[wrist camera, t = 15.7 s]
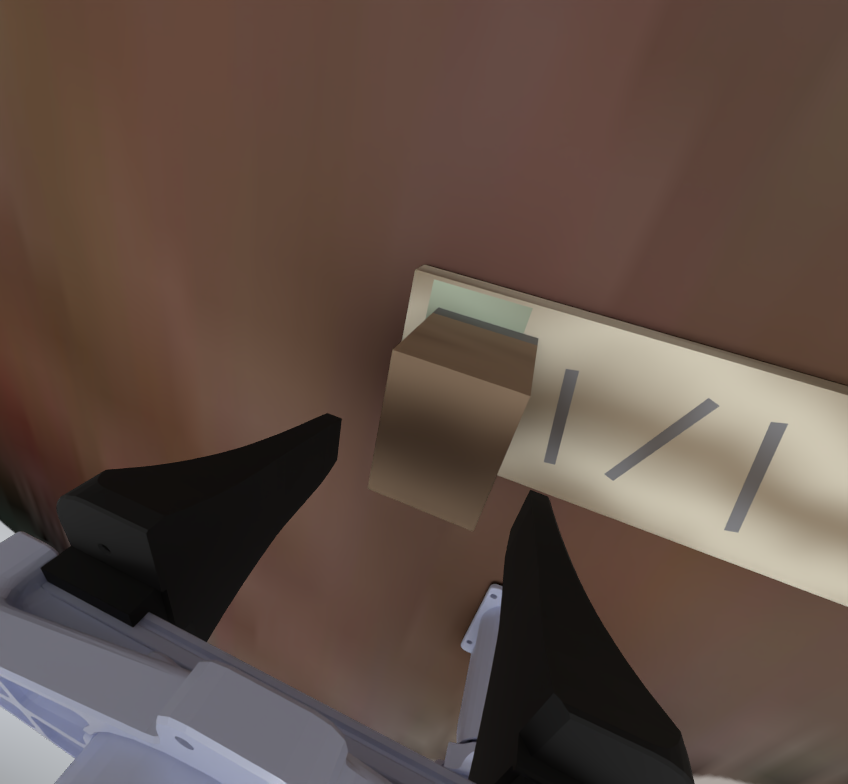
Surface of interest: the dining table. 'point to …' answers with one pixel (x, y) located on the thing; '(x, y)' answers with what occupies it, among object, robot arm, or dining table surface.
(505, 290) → the birch board
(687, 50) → the dining table surface
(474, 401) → the eraser block
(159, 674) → the robot arm
